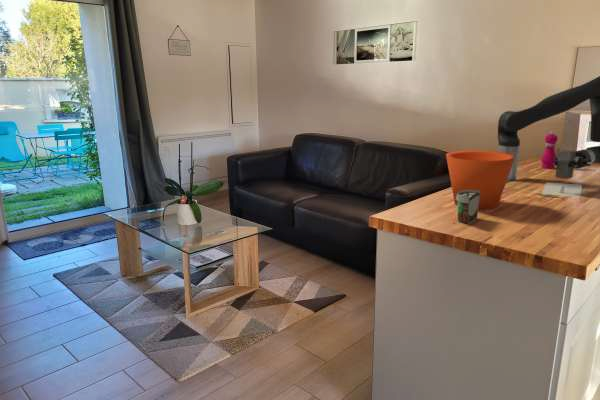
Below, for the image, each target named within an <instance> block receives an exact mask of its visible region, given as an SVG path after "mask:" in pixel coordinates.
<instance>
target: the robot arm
mask: <svg viewBox="0 0 600 400" xmlns="http://www.w3.org/2000/svg"><path fill="white" fill-rule="evenodd" d="M588 100H589V107H590V131H589V132H590V134H589V135H590V136H589V137H590V141H591V142H594V143H600V75H599V76H597V77H595V78H594V79H591V80H590V81H587V82H586V83H583V84H581V85H577V86H574V87H572V88H571V87H570V88H569V89H566V90H563V91H560V92H557V93H555V94H552V95H550V96H549V95H548V97H546V98H544V99H542V100H540V101H539V102H538V103H536V104H535V105H533V106H531V107H528V108H525V109H522V110H518V111H512V110H508V111H504V112H503V113H501V115H500V116H499V119H498V122H497V140H498V145H497V146H498V147H497V152H503V153H508V154H512V155H514V156H515V159H514V162H513V165H512V167H511V170H510V173H509V176H508V179H507V181H506V183H511V182H514V181H515V182H516V181H517V177H518V176H517V174H518V166H519V165H518V163H519V153H520V146H521V145H520V144H521V139H520V138H519V135H518V131H520V130H523V129H525V128H527V127H528V126H530V125H533V124H535V123H537V122H540V121H543V120H546V119H548V118H552V117H555V116H557V115H560V114H562V113H565V112H568V111H569V110H572V109H573V108H576V106H579V105H580V104H582V103H584V102H586V101H588ZM575 151H576V152H575V160H574V161H571V162H568V167H573V166H574V168H573V169H576V170H577V169H582V168H585V167H591V166H592V165H593V164H596V163H599V162H600V145H596V146H590V147H589V146H588V147H586V148H585V149H578V150H575ZM557 159H558V155H556V158H555V162H554V165H555V166H556V167H557Z"/></svg>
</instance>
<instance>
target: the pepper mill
mask: <svg viewBox="0 0 600 400" xmlns="http://www.w3.org/2000/svg"><path fill="white" fill-rule="evenodd" d="M549 133H550V134H547V135H546V136H545V137H544V141H545V151H544V153H543V155H542V157H541V160H540V161H541V163H542V164H541V168H542V169H545V170H546V169H548V170H549V169H550V170H554V169H555V165H554V162H555V158H556V157H557V155H556V153H555V147H556V146H557V142H558V140H559V138H558V136H557V135H556V134H554V133H555V132H554V131H550V132H549Z"/></svg>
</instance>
